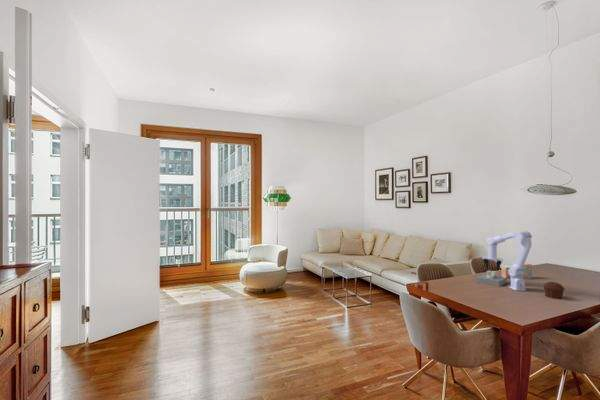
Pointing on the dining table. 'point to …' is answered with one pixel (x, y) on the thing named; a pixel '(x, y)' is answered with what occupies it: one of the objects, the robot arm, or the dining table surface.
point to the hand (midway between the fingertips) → (492, 269)
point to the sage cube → (491, 274)
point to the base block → (492, 280)
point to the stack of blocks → (527, 275)
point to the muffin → (553, 290)
